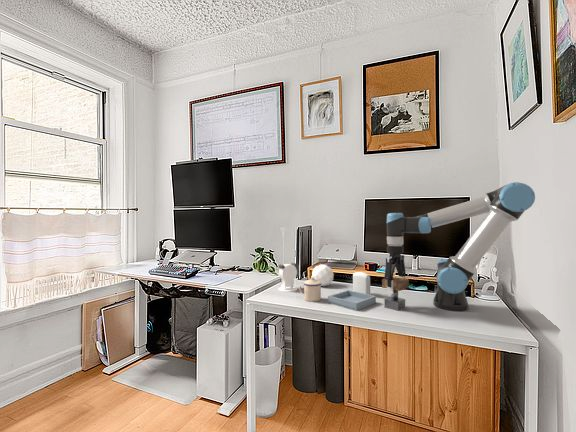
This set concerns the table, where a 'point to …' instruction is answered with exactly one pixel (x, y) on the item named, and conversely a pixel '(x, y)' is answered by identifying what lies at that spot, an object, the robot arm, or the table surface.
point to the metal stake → (394, 302)
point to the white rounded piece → (287, 277)
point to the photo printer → (361, 283)
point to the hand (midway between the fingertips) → (395, 291)
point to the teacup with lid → (311, 290)
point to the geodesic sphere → (323, 274)
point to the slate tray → (352, 300)
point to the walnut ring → (397, 283)
